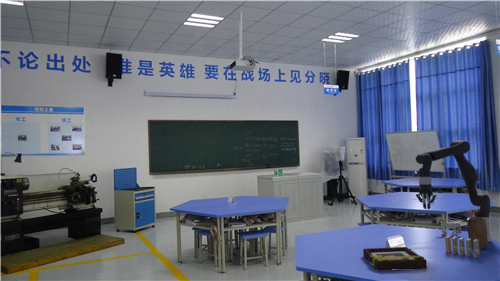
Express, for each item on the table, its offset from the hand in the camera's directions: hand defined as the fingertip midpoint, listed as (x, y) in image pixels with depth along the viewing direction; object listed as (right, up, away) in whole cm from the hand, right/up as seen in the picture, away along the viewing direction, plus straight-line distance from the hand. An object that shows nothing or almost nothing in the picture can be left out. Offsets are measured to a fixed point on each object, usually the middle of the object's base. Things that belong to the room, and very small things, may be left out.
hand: (426, 208), depth 243 cm
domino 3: (+18, -26, -18) cm, 36 cm away
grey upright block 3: (+15, -26, -15) cm, 34 cm away
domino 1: (+10, -26, -10) cm, 30 cm away
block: (+32, -26, -3) cm, 41 cm away
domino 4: (+20, -26, -21) cm, 39 cm away
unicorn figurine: (+31, -27, +31) cm, 51 cm away
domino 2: (+12, -26, -12) cm, 31 cm away
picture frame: (-33, -29, -24) cm, 50 cm away
